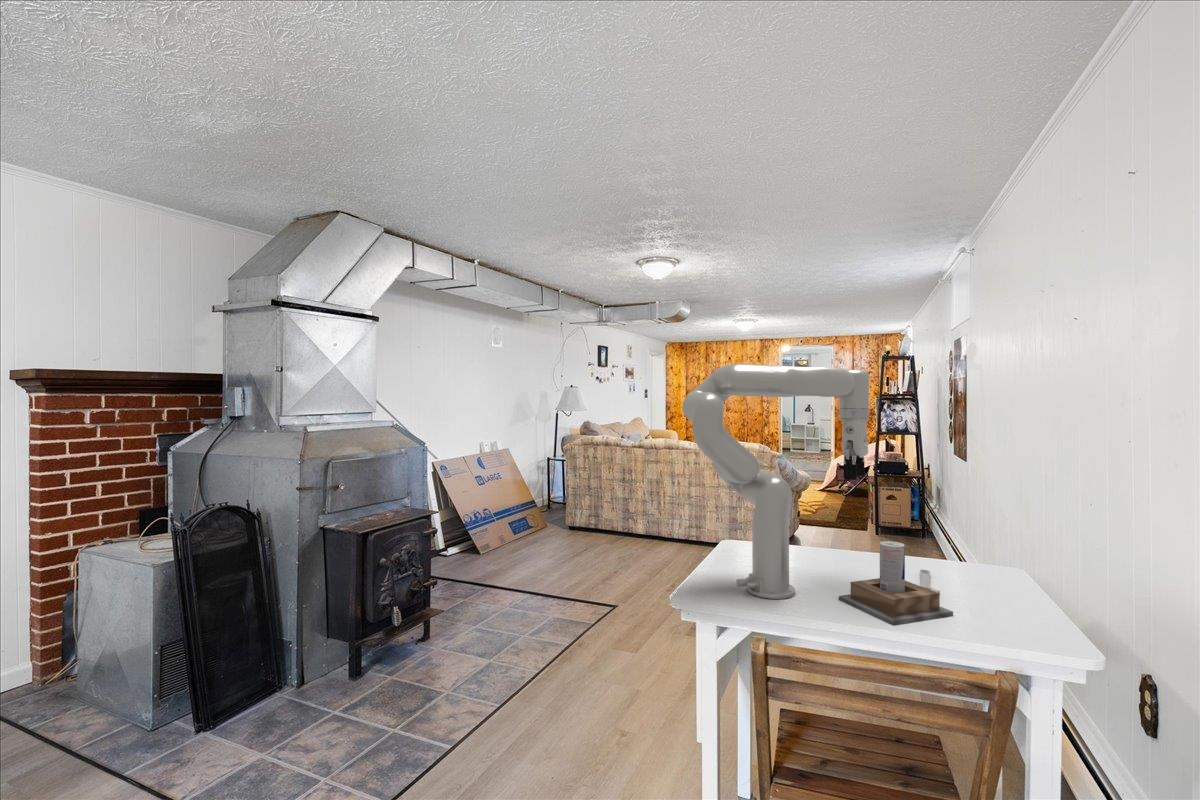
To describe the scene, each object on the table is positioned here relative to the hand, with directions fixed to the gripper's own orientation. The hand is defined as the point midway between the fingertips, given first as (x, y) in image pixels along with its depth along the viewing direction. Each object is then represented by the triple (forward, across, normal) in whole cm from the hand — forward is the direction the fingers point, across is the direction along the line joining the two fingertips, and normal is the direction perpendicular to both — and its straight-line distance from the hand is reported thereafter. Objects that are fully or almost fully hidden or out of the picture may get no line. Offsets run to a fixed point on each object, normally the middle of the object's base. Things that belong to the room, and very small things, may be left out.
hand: (854, 477), depth 163 cm
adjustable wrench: (+31, +12, -16) cm, 37 cm away
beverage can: (+30, -11, -11) cm, 34 cm away
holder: (+30, -11, -12) cm, 34 cm away
